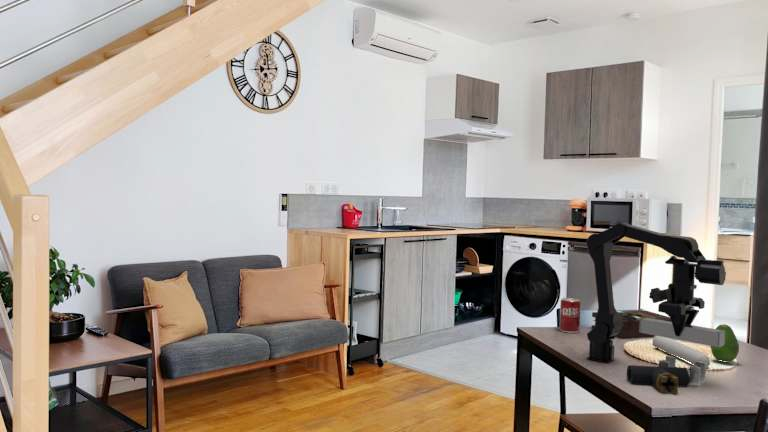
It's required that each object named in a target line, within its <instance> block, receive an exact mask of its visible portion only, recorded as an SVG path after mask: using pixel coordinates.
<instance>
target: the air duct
mask: <svg viewBox="0 0 768 432" xmlns="http://www.w3.org/2000/svg"><path fill="white" fill-rule="evenodd" d="M639 332H640V333H645V334H650V335H656V336H661V337H666V338H670V339H672V340H678V341H682V342H683V341H684V342H688V343H694V344H699V345H706V346H710V347H711V346H715V347H721V346H723V345H724V342H725V330H717V329H716V328H710V327H705V326H698V325H694V324H691V325H688V324H686V323H685V325H684V328H683V330H682V332H681V335H680V336H676V335H675V332H674V328H673V324H672V322H670V321H664V320H658V319H652V318H647V317H645V318H642V319H640V328H639Z"/></svg>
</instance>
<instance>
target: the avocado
mask: <svg viewBox="0 0 768 432" xmlns="http://www.w3.org/2000/svg"><path fill="white" fill-rule="evenodd" d="M715 329H717V330H725V342H724V345H723V346H721V347H715V346H710V351H711V354H712V356H713V357H714V359H716V360H717V361H718V360H722V361H731V362H733V361H734V360H735V359H736V358H737V356H738V355H739V352H740V350H739V349H740V344H739V341H738V339H737V336H736V335H735V333H734V330H733V329H732V327H731V326H730V325H727V324H719V325H718V326H717V327H715Z"/></svg>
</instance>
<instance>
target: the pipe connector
mask: <svg viewBox="0 0 768 432" xmlns="http://www.w3.org/2000/svg"><path fill="white" fill-rule="evenodd" d="M626 379H627V382H629V383H630V384H632V385H633V384H634V385H651V386H652V385H654V386H655V387H657V390H658V391H660V393H661V394H668V393H672V394H678V393H679V392H678V390H679V387H688V386H689V370H688V369H687V368H686V367H675V368H674V367H659V366H650V365H635V364H634V365H632V364H629V365H627V368H626Z"/></svg>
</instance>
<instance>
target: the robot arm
mask: <svg viewBox="0 0 768 432" xmlns="http://www.w3.org/2000/svg"><path fill="white" fill-rule="evenodd" d="M623 238H628V239H632V240H635V241H638V242H641V243H645V244H648V245H650V246H655V247H658V248H660V249H662V250H663V251H665V252H667V253H669V254H671V256H670V257H669V258H668V259H667V260H666V261H665V262H664V263H665V264H667V265H672V277H671V278H672V279H671V283H669V284H668V286H667V288H666V289H660V288H659V287H655V288H651V289H650V292H649V299H651V300H652V303H653V304H656V303H659V302H660V303H659V304H658V308H657V309H658V310H657V312H659V313H664V314H666V316H667V317H670V318H671V321H672V324H673V328H674V332H675V335H676V336H680V335H681V332H682V330H683V328H684V325H685V323H686V324H688V325H693V324H692V323H693V322H694V320H695V319H696V317H697V315H698V314H699V313H700V309H701V310H702V309H705V304H706V303H705V302H706V301H704V299H703V298H702V297H697V296H695V295H694V294H695V293H694V292H695V290H696V289H697V285H698V284H695V279H696V280H697V281H698V282H699V283H700V284H708V285H716V286H723V285H724V284H725V281H726V276H727V272H726V270H725V269H726V268H725V265H724V260H723V259H721V260H720V259H718V260H713V259H707V258H706V257H705V256H704V254H703V253H702V252H701V250H700V248H699V243H698V242H697V240H696V239H695V238H694V237H691V236H685V235H684V236H683V235H673V234H672V235H671V234H664V233H661V232H657V231H654V230H650V229H647V228H642V227H641V226H640V227H639V226H637V225H633V224H630V223H628V222H618V223H616V224H615V225H614V226H612V227H610V228H607V229H606V230H603V231H601V232H600V233H593V234H592V233H591V235H589V236H588V238H586V246H587V251H588V254H589V256H590V259H591V260H592V262H593V265H594V277H595V287H596V295H597V297H596V298H597V309H598V310H596V312H597V315H596V318H595V317H594V320H595V321H594V325H595V328H594V329H591V330H590V331H589V332H587V333H586V336H587V340H588V341H589V349H588V356H587V357H586V359H587V360H590V361H595V362H600V363H607V364H608V363H610V362H612V361H614V360H615V345H614V340H615V339H616V337H615V336H616V335H617V334H618V333H619V332H620V331H621V329H622V326H623V325H624V324H623V322H622V313H621V312H620V313H617V311H618V310H617V309H616V307H615V302H614V293H613V283H612V281H613V280H612V273H611V272H612V271H611V258H612V255H613V249H614V244H616V243H618V242H619V241H621V240H622V239H623ZM695 307H696V308H698V309H699V310H698V309H695Z"/></svg>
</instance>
